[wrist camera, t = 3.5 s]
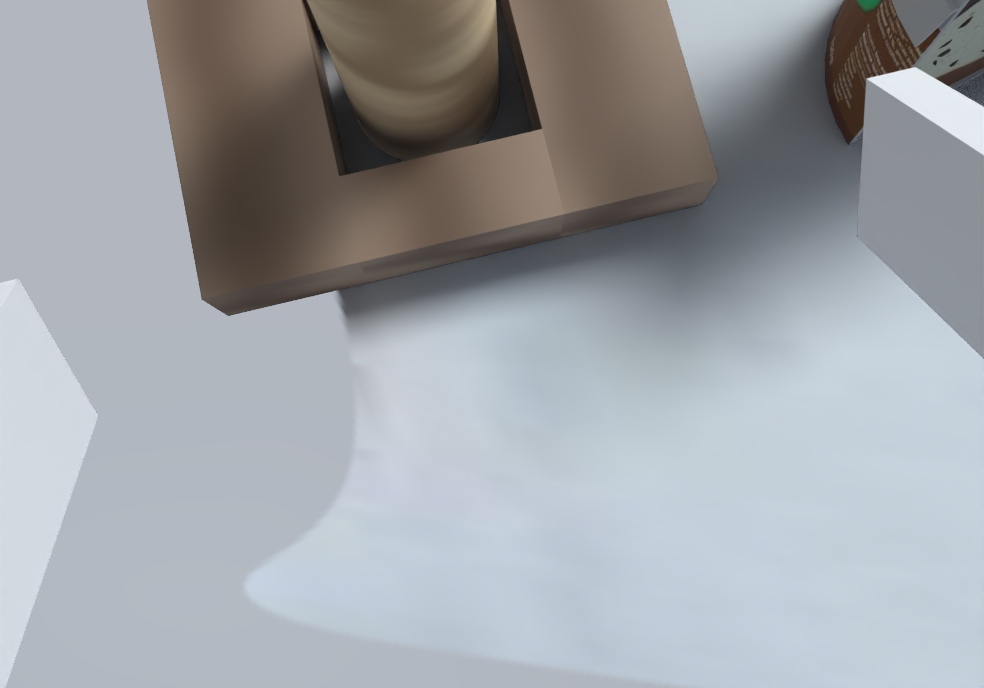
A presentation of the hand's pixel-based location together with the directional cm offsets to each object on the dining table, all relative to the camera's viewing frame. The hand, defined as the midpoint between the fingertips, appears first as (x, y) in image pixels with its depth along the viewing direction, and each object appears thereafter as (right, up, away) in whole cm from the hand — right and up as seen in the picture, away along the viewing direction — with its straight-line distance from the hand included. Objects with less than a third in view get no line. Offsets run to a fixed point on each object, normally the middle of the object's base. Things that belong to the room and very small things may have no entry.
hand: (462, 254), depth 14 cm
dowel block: (-2, +7, +16) cm, 18 cm away
